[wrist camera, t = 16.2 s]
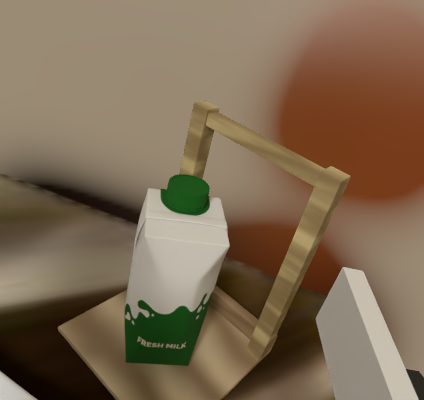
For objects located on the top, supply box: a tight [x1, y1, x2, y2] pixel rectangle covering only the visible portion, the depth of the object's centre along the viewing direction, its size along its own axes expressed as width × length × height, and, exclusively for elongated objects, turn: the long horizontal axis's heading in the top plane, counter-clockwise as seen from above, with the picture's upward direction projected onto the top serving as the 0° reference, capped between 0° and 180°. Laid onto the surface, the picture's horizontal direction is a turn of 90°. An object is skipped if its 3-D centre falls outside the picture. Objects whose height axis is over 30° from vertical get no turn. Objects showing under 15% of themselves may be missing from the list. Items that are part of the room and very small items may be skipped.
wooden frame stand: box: [58, 101, 350, 400], centre depth 41 cm, size 18×18×26 cm
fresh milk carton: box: [124, 174, 230, 366], centre depth 41 cm, size 9×9×20 cm
